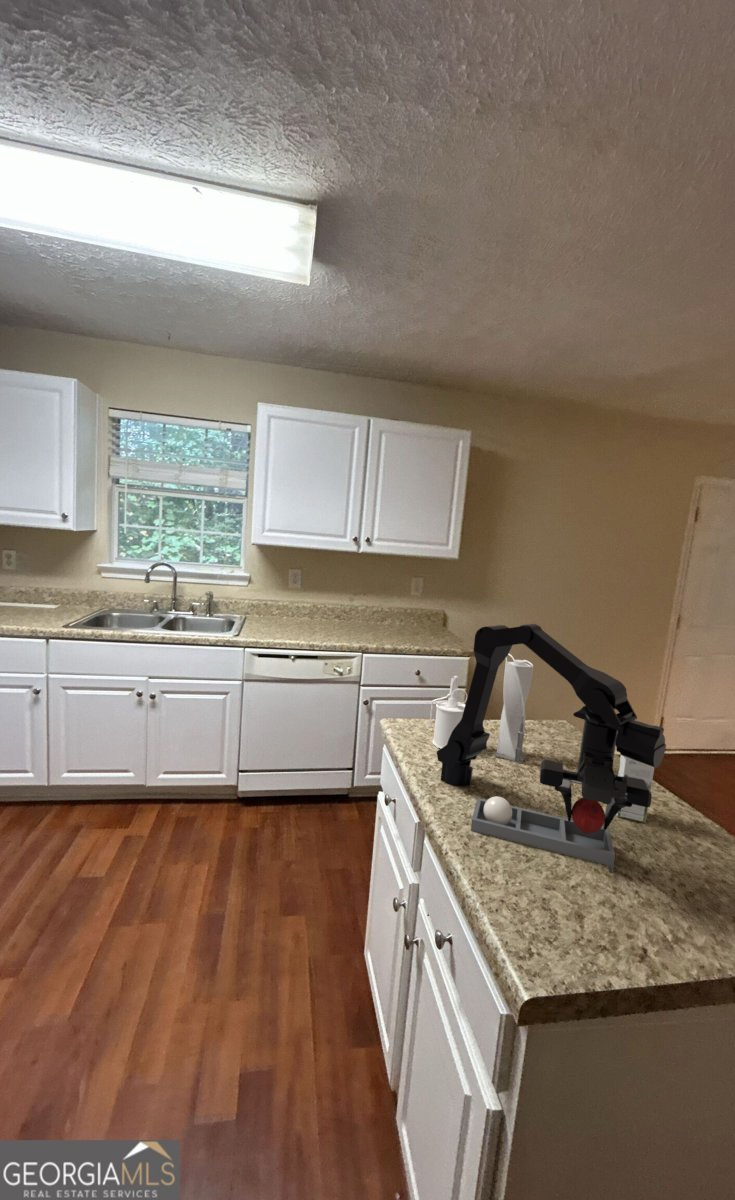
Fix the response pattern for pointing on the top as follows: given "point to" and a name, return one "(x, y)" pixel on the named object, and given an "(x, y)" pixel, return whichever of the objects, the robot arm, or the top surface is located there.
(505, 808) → the ceramic egg
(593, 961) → the top surface
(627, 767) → the syrup box
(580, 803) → the onion
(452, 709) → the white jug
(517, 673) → the skyscraper
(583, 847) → the egg tray
